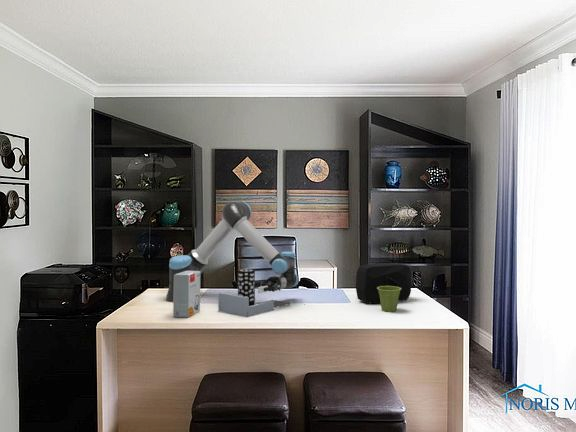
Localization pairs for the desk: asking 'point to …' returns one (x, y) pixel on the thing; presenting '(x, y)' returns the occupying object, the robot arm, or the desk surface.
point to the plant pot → (389, 297)
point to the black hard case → (382, 280)
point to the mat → (276, 303)
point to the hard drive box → (186, 294)
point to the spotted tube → (247, 284)
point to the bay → (242, 305)
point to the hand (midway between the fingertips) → (248, 288)
